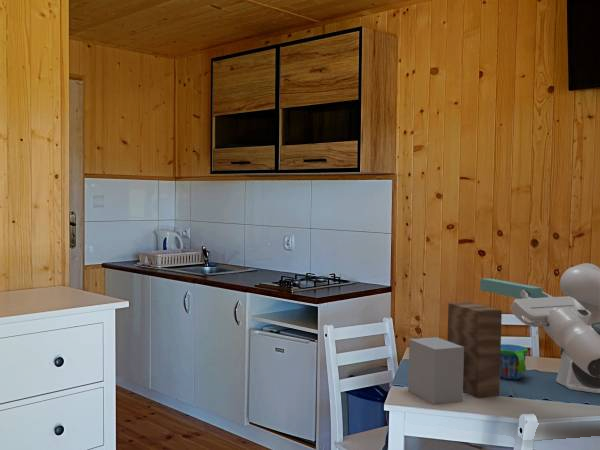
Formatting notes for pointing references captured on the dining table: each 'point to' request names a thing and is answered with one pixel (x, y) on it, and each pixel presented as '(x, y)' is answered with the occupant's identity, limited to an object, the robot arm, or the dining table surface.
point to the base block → (436, 370)
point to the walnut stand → (477, 346)
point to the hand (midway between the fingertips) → (529, 291)
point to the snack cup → (512, 361)
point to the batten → (509, 288)
